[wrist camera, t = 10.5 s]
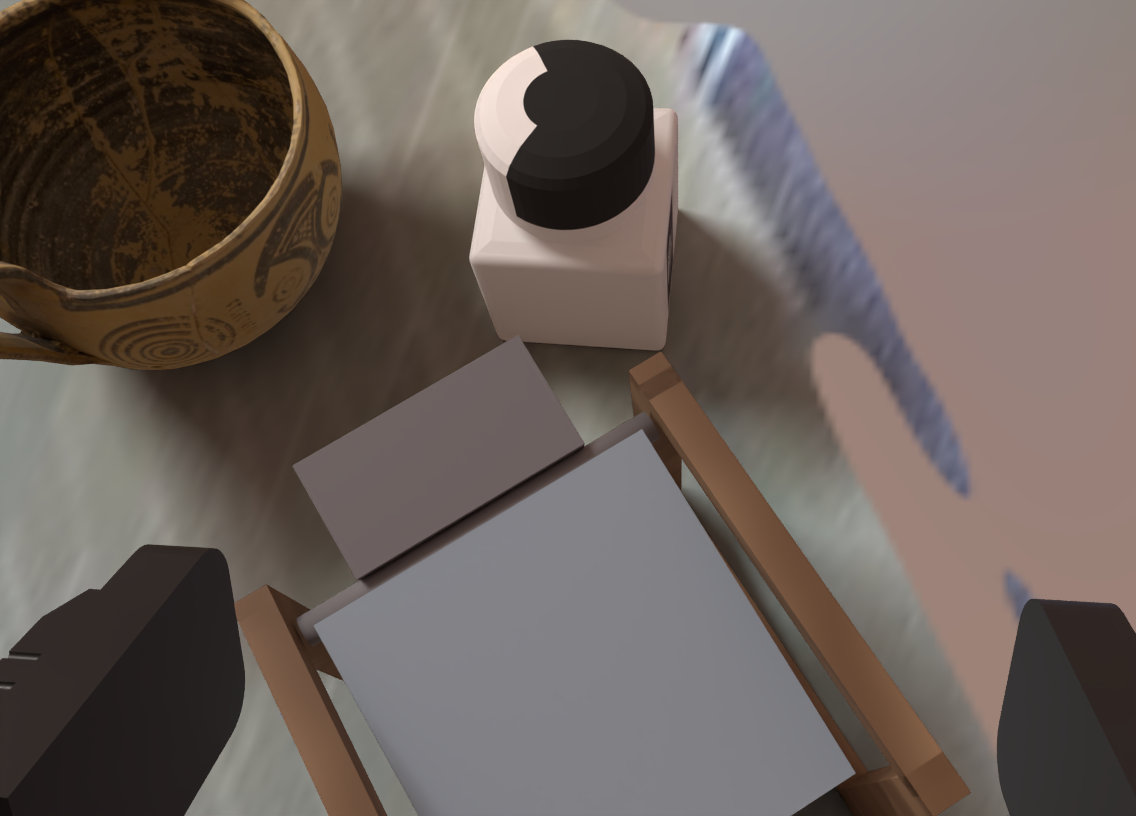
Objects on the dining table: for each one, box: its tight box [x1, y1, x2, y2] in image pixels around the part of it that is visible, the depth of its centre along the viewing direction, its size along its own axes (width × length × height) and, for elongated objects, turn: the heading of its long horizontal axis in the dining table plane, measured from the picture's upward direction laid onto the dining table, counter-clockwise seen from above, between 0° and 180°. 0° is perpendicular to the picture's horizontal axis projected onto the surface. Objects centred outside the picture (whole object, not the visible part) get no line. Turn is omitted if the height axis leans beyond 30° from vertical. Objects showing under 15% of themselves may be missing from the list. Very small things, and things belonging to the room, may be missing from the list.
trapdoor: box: [292, 335, 856, 816], centre depth 33 cm, size 12×16×2 cm
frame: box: [234, 352, 971, 816], centre depth 37 cm, size 15×15×14 cm
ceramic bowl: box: [0, 0, 342, 370], centre depth 46 cm, size 22×17×15 cm
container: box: [469, 40, 678, 351], centre depth 44 cm, size 8×8×13 cm
